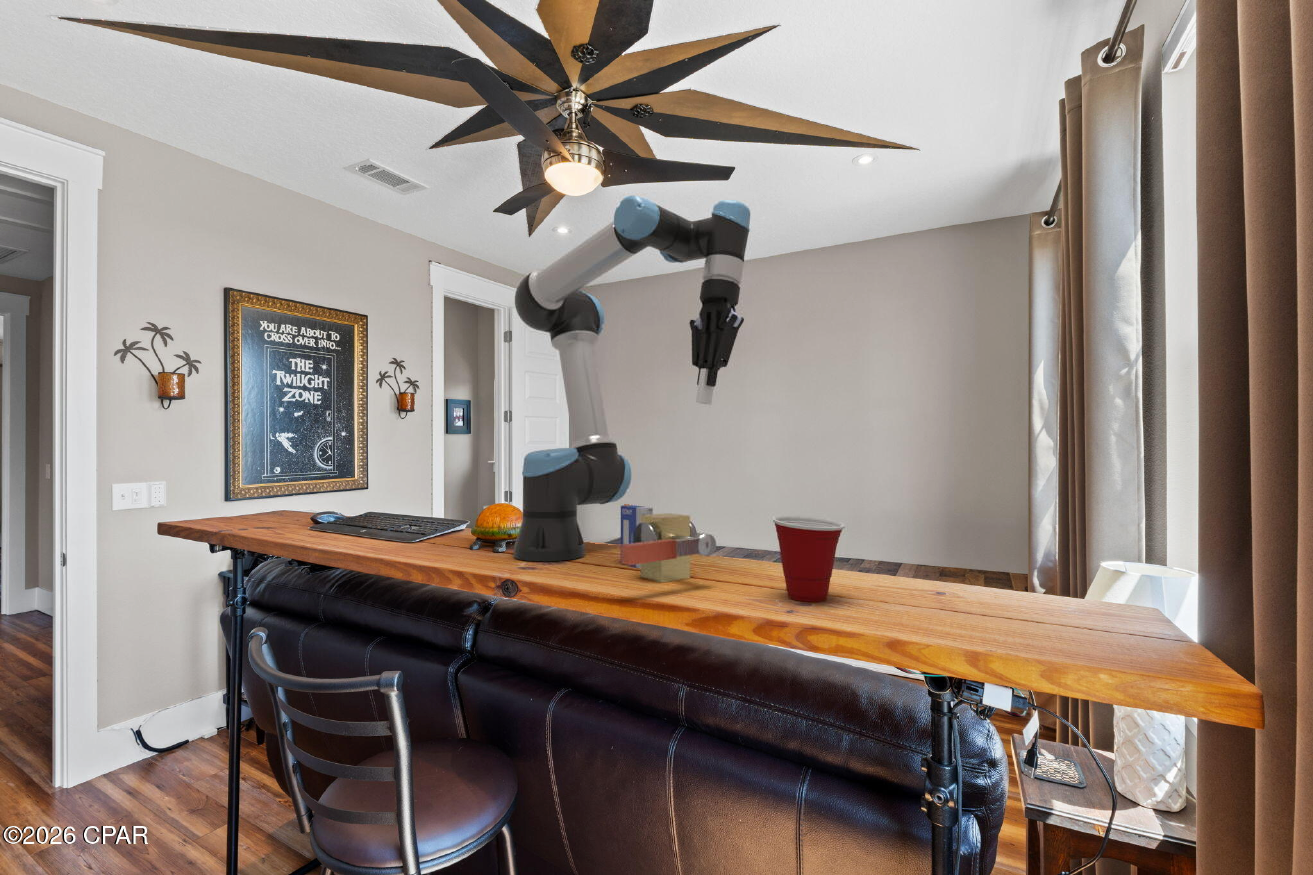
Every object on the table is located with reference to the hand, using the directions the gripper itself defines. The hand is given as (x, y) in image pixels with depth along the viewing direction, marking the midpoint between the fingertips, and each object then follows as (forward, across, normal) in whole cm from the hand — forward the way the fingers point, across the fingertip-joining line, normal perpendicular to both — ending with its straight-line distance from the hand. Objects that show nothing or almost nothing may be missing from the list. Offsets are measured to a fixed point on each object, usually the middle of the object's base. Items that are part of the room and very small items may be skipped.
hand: (703, 403), depth 111 cm
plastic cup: (+30, -29, 0) cm, 42 cm away
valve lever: (+24, -13, +6) cm, 29 cm away
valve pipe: (+32, -7, +7) cm, 34 cm away
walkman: (+34, +9, +3) cm, 35 cm away
